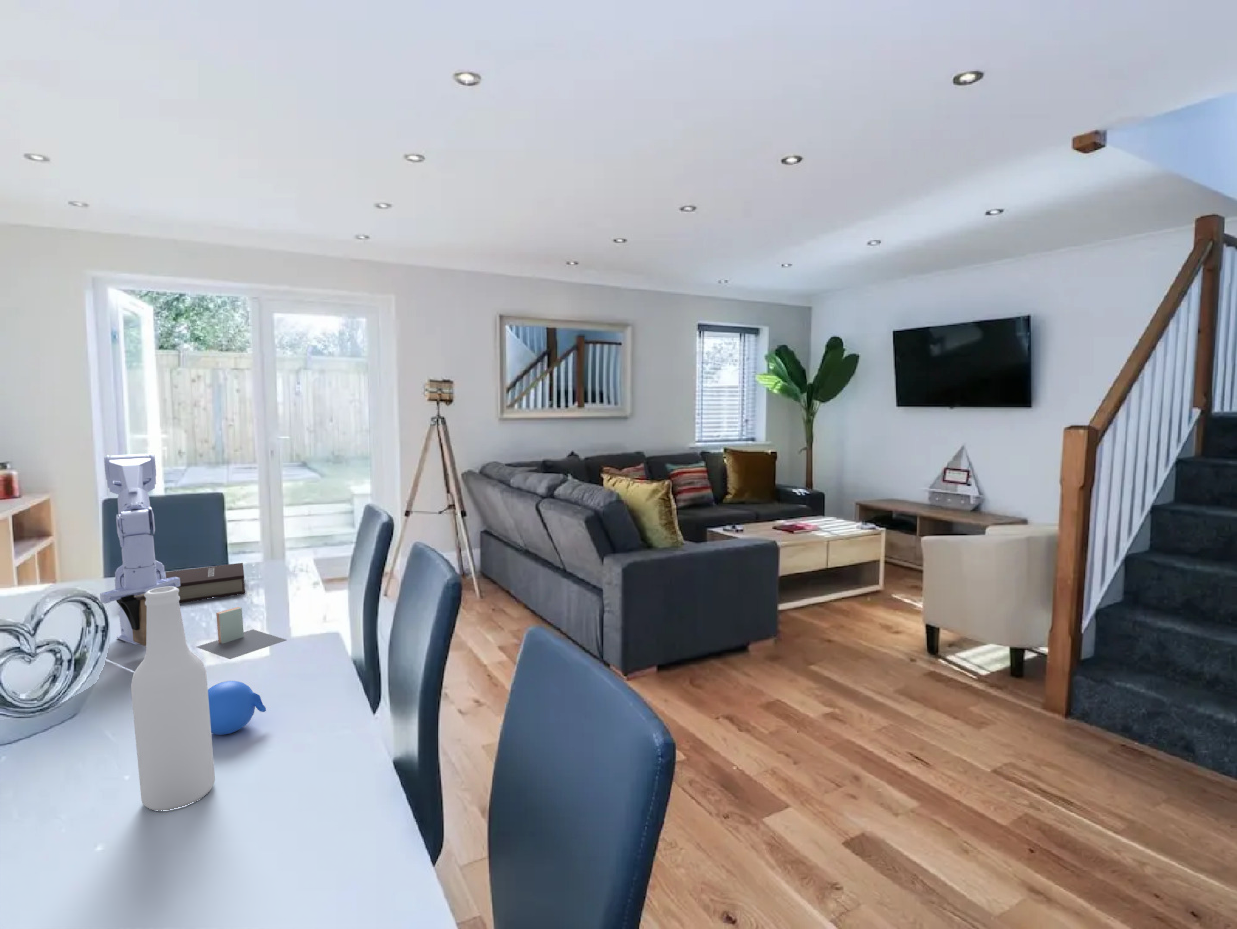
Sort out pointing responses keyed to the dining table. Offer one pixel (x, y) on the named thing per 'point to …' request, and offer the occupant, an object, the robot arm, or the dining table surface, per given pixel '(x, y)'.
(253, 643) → the mat
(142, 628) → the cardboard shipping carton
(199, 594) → the book
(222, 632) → the tile
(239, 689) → the blue rounded blob
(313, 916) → the dining table surface
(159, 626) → the alcohol
